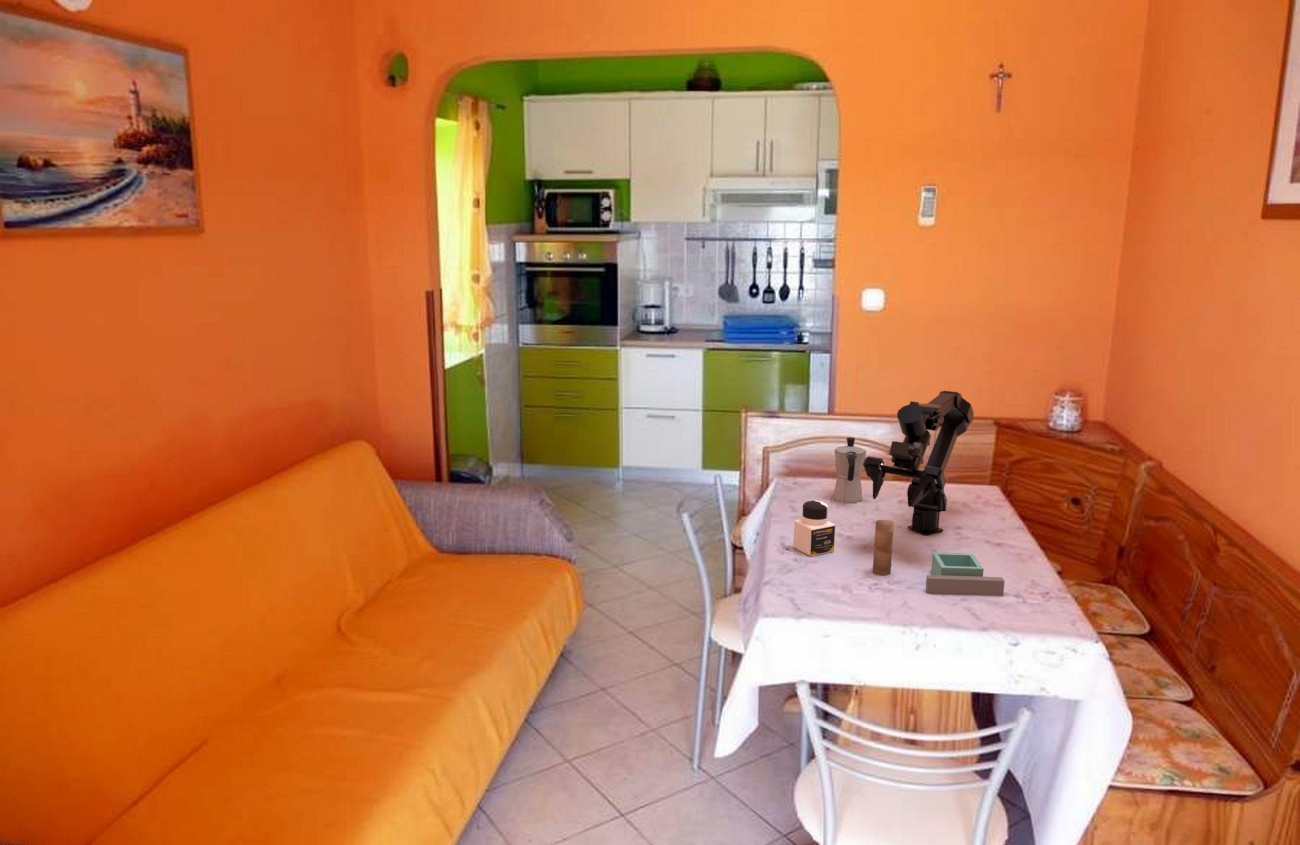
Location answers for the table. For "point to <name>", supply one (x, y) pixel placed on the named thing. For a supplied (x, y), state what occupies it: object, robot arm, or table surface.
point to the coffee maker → (849, 472)
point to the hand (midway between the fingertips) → (892, 501)
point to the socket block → (956, 565)
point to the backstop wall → (965, 585)
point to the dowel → (883, 547)
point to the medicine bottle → (814, 530)
